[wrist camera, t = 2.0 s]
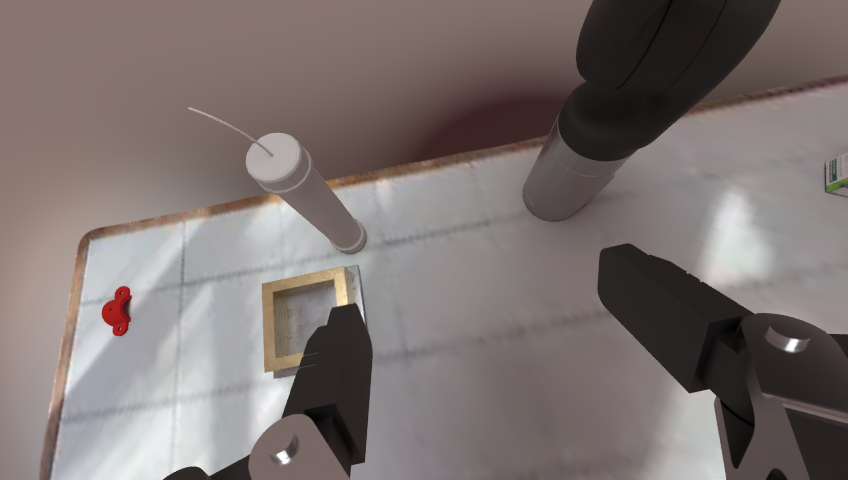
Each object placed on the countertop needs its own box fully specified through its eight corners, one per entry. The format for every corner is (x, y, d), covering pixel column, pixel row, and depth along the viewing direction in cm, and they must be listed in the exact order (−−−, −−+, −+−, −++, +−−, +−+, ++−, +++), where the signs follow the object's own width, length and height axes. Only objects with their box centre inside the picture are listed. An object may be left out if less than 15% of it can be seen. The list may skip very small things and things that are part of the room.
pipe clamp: (117, 289, 52) (103, 287, 50) (133, 284, 52) (120, 282, 50) (114, 338, 49) (99, 338, 47) (131, 333, 49) (118, 332, 47)
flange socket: (358, 266, 50) (349, 258, 45) (371, 358, 45) (362, 360, 40) (273, 284, 50) (254, 278, 45) (277, 378, 45) (257, 382, 41)
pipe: (363, 257, 50) (252, 146, 22) (326, 252, 51) (172, 138, 22) (370, 225, 52) (276, 83, 23) (334, 220, 52) (200, 78, 24)
